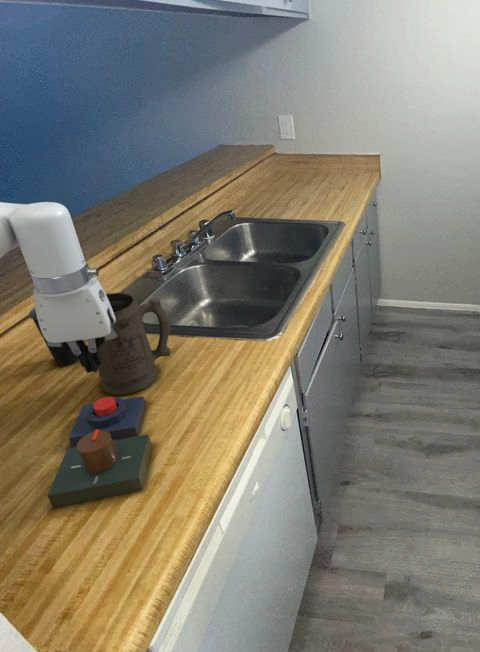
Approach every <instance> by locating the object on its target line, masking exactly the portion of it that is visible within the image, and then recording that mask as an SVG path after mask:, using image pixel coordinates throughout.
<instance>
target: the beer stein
mask: <svg viewBox="0 0 480 652" xmlns="http://www.w3.org/2000/svg"><path fill="white" fill-rule="evenodd" d="M105 294H106V296H107V298H108V300H109V302H110V305H111V307H112V309H113V312H114V315H115V319H116V321H115V323H114V324H113V325H114V326H115V327H116V329H117V330H118V335H117V337H116V338H114V339H111V340H108V341H104V342H103V344H102V345H101V346H100V347H99V349H100V352H101V355H102V358H103V362H102V364H100V366H99V369H98V377H99V379H100V380H101V387H102V389H103V391H104V392H106V393H108V394H110V395H113V396H122V395H123V396H124V395H130V394H134V393H137V392H140V391H141V390H144V389H146V388H147V387H149V386H150V385H152V383H154V381H155V380H156V378H157V375H158V371H157V367H156V366H155V362H156V360H157V359H159V358H161V357H171V354H172V351H171V348H170V347H168V340H169V336H170V332H171V321H170V317H169V315H168V313H167V311H166V310H165V308H163V306H162V304H161V299H160V298H157V297H156V298H155V297H154V298H150V300H149V301H148V302H147V303H143V304H141V305H139V302H138V301H137V300H136V298H135V296H133V295H132V294H130V293H125V292H113V293H105ZM147 313H153V314H155V315H156V317H157V321H158V325H159V337H158V343H157V346H156V348H155V349H152V348H151V345H150V341H149V339H148V336H147V332H146V329H145V325H144V322H143V318H144V317H143V316H144V315H145V314H147Z"/></svg>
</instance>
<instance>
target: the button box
mask: <svg viewBox="0 0 480 652" xmlns="http://www.w3.org/2000/svg"><path fill="white" fill-rule="evenodd" d="M111 397H112V396H111ZM112 398H114V399H115V402H116V405H117V409H116V411H114V412H113V413H111V414H109V415H107V416H102V417H99V416H97V415H96V414H95V411H94V408H93V405H94V403H90V404H83V405H82V406H81V408H80V410H79V413H78V415H77V418H76V420H75V422H74V424H73V426H72V429H71V431H70V434H69V435H68V440H69V443H70V447H71V448H73V447H77V444H78V442H79V440H80V439H81V438H83V437H84V436H85V435H87V434H89V433H91V432H95V430H98V429H99V431H101V430H102V431H107V432H109V433H110V436H111V438H112V441H113V440H119V439H125V438H131V437H136V436H139V433H140V428H141V424H142V421H143V417H144V413H145V409H146V405H147V403H146V400H145V396H144V395H142V396H135V397H130V398H129V397H128V398H121V397H117V396H113V397H112Z"/></svg>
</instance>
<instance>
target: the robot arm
mask: <svg viewBox="0 0 480 652" xmlns="http://www.w3.org/2000/svg"><path fill="white" fill-rule="evenodd" d="M18 247H19V248H20V251H21V254H22V256H23V259H24V261H25V265H26V266H27V269H28V271H29V274H30V276H31V279H32V282H33V284H34V289H33V291H32V294H33V304H34V308H35V311H36V315H37V319H38V323H39V326H40V329H41V332H42V334H43V336H44V338H45V340H46V341H47V345H48V346H51V347H64V348H66V349H68V350H70V351H72V352H73V354H74V355H78V357H79V363H80V365H81V367H82V368H84V370H85V372H86V373H87V374H90V373H91V372H93V373H98V372H99V366H100V364H102V362H103V358H102V355H101V352H100V349H99V347H100V346H101V345H102V344H103V342H104V341H108V340H111V339H114V338H116V337H117V335H118V330H117V329H116V327H115V326H114V325H113V324H114V323H115V321H116V319H115V315H114V312H113V309H112V307H111V305H110V302H109V300H108V298H107V296H106V294H107V293H106V292H105V289H104V288H103V286H102V285H101V283H100V281H99V280H98V278H96V277H99V276H100V275H99V274H100V272H99V270H98V268H92V267H90V266H89V264H88V263H87V261H86V260H85V256H84V254H83V249H82V247H81V244H80V241H79V238H78V234H77V232H76V228H75V225H74V222H73V219H72V216H71V213H70V211H69V209H68V208H67V207H66V206H65V205H63V204H62V203H59V202H54V201H40V202H33V203H28V204H27V203H26V204H25V203H11V202H3V201H0V259H1V258H2V257H3V256H5V255H6V254H7V253H9V252H10V251H13V250H14V249H17V248H18ZM85 340H86V342H87V344H86V342H85ZM47 345H46V346H47Z"/></svg>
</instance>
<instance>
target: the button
mask: <svg viewBox="0 0 480 652" xmlns="http://www.w3.org/2000/svg"><path fill="white" fill-rule="evenodd" d="M93 404H94V405H93V408H94V411H95V414H96V415H97V416H99V417H102V416H107V415H109V414H111V413H113V412H114V411H116V409H117V405H116V402H115V399H114V398H112V396H106V397H101V398H100V399H97V400H96V401H95V402H94V403H93Z"/></svg>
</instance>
